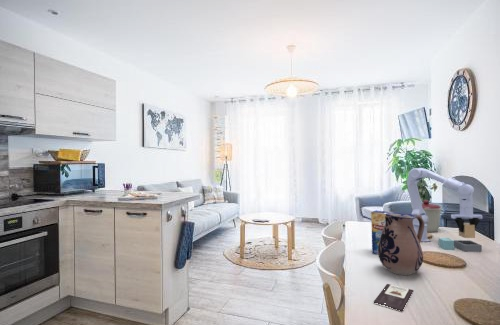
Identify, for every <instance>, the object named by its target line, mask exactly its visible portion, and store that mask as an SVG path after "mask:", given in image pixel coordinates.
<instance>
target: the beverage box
mask: <svg viewBox="0 0 500 325" xmlns="http://www.w3.org/2000/svg"><path fill="white" fill-rule="evenodd" d="M386 213H398V212H397V211H396V212H395V211H385V210H374V211H371V213H370V216H371V217H370V218H371V220H370V221H371V222H370V223H371V252H372V255H378V245H379V240H380V237H381V233H382V230H383V228H384V226H385V223H386V221H385V216H386V215H385V214H386Z"/></svg>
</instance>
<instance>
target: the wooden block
mask: <svg viewBox="0 0 500 325" xmlns="http://www.w3.org/2000/svg"><path fill="white" fill-rule="evenodd" d="M458 236H459V237H462V238H464V239H475V238H476V229H475V225H473V224H470V222H464V225H463V232H460V231H459V230H458Z"/></svg>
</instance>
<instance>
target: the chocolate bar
mask: <svg viewBox="0 0 500 325" xmlns="http://www.w3.org/2000/svg"><path fill="white" fill-rule="evenodd" d="M384 289H385V290H384ZM412 292H413V293H414V289H410V288H406V287H402V286H397V285H395V284H390V283H386V284H385V286H384V287H383V289H381V291H380V293H379V294H378V295H377V296H376V298H375V299H374V300H373V302H374V303H378V304H381V305H385V306H388V307H391V308H393V309H397V310H400V311H403V312H404V310H405V309H404V307H405V305H406V303H407V302H408V303H409V301H408V300H410V299H409V298H411V297H410V296H412V295H413V293H412ZM411 294H412V295H411ZM384 303H386V304H384ZM408 303H407V304H408ZM406 306H407V305H406ZM405 308H406V307H405ZM393 309H392V310H393ZM403 309H404V310H403ZM397 310H396V311H397ZM400 311H399V312H400Z"/></svg>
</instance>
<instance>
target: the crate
mask: <svg viewBox="0 0 500 325" xmlns="http://www.w3.org/2000/svg"><path fill="white" fill-rule="evenodd" d="M453 241H454V248H456V249H457V250H460V251H462V252H464V253H465V252H468V253H469V252H470V253H471V252H473V253H475V252H479V253H481V252H483V250H482V244H480V243H477V242H475V241H472V240H468V239H467V240H466V239H465V240H463V239H462V240H460V239H459V240H458V239H454V240H453Z"/></svg>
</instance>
